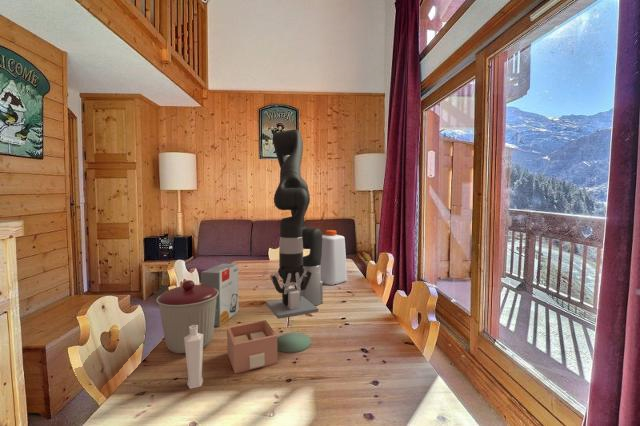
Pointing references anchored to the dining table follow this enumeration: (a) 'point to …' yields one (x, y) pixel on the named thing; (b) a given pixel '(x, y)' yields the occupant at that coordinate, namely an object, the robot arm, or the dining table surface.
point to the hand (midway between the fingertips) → (291, 303)
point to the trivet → (293, 342)
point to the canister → (187, 313)
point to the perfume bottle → (194, 357)
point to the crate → (251, 346)
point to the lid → (291, 305)
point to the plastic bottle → (333, 258)
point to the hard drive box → (223, 290)
